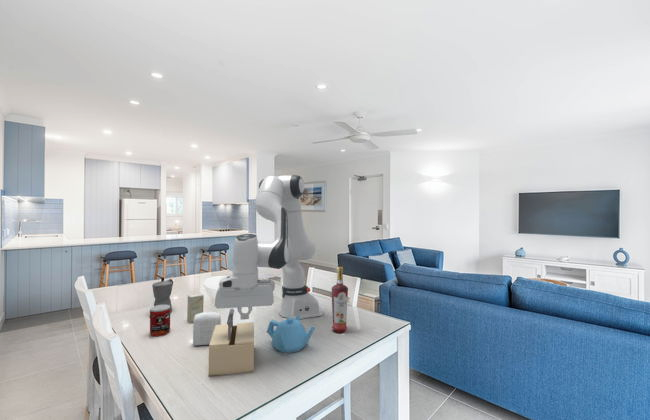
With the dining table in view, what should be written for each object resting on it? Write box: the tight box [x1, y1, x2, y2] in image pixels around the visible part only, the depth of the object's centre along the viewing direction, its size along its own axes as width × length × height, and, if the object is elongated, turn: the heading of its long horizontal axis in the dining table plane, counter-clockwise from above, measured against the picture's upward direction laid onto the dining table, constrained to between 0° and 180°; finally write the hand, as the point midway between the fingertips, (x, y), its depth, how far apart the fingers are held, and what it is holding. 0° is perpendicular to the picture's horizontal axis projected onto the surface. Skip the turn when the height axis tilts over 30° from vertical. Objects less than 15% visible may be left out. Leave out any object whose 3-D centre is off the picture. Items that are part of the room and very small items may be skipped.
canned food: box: [149, 305, 171, 337], centre depth 129 cm, size 8×8×11 cm
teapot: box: [266, 316, 316, 354], centre depth 118 cm, size 15×15×11 cm
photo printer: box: [192, 311, 222, 347], centre depth 119 cm, size 10×4×12 cm, turn 103°
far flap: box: [208, 308, 235, 348], centre depth 105 cm, size 7×17×7 cm, turn 13°
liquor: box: [331, 266, 349, 334], centre depth 133 cm, size 7×7×28 cm
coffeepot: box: [151, 277, 174, 314], centre depth 154 cm, size 15×9×18 cm, turn 176°
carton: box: [208, 321, 255, 377], centre depth 106 cm, size 14×18×10 cm
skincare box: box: [186, 292, 205, 324], centre depth 143 cm, size 6×4×12 cm
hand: (244, 318), depth 107 cm, fingers closed
